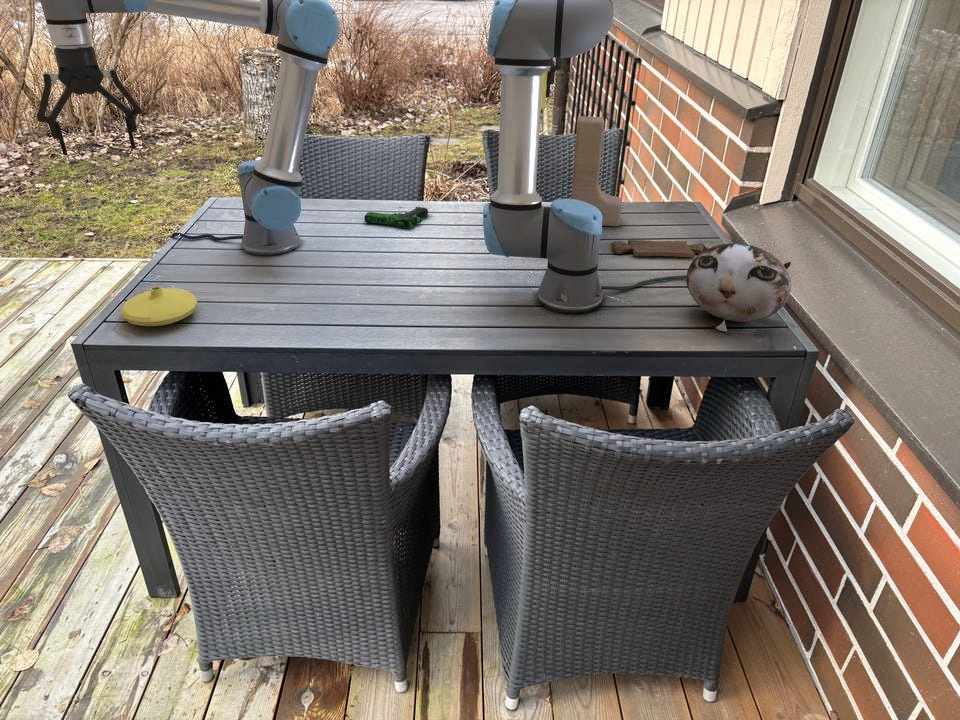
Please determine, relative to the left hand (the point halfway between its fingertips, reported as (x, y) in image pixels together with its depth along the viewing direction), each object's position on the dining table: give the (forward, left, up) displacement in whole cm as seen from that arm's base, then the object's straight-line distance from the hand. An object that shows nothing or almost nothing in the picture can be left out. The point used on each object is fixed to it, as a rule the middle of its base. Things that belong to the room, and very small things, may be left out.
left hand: (100, 150), depth 157 cm
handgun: (+24, +73, -32) cm, 83 cm away
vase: (+21, -7, -32) cm, 39 cm away
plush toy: (+126, +66, -32) cm, 145 cm away
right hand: (+56, +94, +4) cm, 110 cm away
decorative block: (+73, +106, -32) cm, 133 cm away
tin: (+56, +94, +1) cm, 110 cm away
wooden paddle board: (+98, +95, -32) cm, 140 cm away
